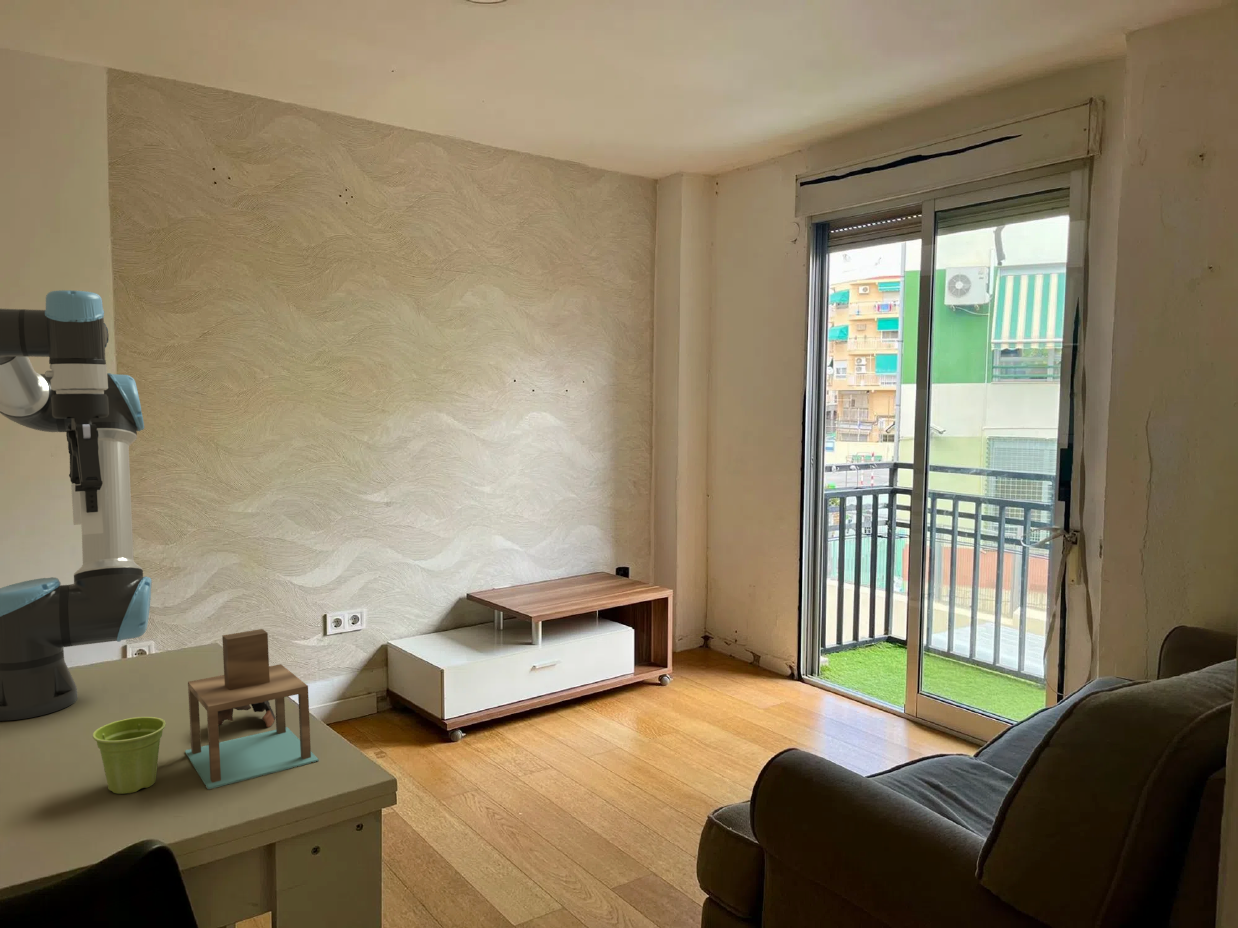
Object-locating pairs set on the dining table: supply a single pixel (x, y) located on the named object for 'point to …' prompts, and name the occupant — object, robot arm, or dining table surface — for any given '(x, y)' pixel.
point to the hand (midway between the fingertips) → (87, 528)
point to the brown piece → (245, 692)
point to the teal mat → (251, 757)
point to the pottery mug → (257, 707)
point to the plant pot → (130, 752)
